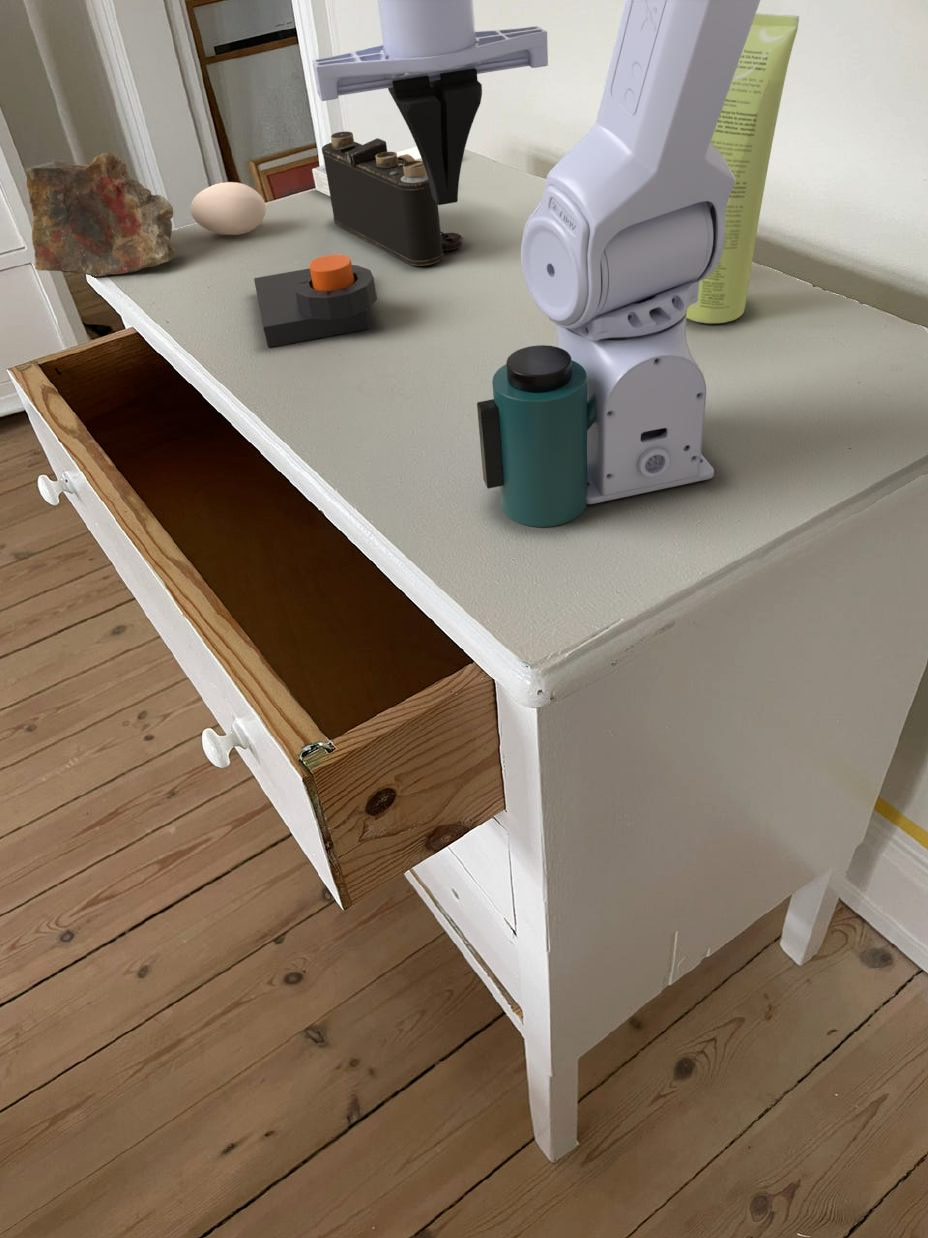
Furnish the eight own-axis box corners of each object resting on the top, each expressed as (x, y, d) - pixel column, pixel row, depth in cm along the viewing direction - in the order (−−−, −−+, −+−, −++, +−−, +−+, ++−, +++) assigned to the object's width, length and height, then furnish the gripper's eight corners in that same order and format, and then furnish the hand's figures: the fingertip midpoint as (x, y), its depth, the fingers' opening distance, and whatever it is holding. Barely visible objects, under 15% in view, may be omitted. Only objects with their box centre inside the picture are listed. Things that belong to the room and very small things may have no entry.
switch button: (357, 288, 74) (353, 266, 73) (316, 296, 74) (311, 273, 72) (351, 273, 76) (347, 251, 75) (311, 280, 76) (306, 258, 75)
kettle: (626, 510, 55) (631, 365, 49) (499, 538, 54) (487, 394, 48) (597, 465, 59) (598, 325, 53) (477, 490, 58) (464, 350, 52)
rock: (109, 179, 96) (38, 117, 86) (215, 193, 92) (153, 131, 82) (73, 298, 95) (-3, 250, 86) (178, 318, 91) (111, 270, 82)
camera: (477, 248, 86) (470, 152, 80) (413, 270, 83) (401, 172, 78) (383, 203, 96) (371, 116, 91) (324, 222, 94) (308, 133, 89)
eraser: (396, 151, 105) (413, 159, 103) (434, 140, 107) (452, 148, 104) (397, 163, 106) (414, 172, 103) (435, 152, 108) (453, 160, 105)
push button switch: (385, 332, 75) (378, 288, 73) (269, 353, 74) (258, 309, 72) (363, 278, 83) (356, 237, 81) (258, 297, 82) (248, 256, 80)
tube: (744, 293, 75) (777, -3, 62) (761, 322, 71) (800, 13, 58) (670, 300, 75) (687, 6, 62) (683, 329, 71) (705, 23, 58)
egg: (274, 193, 94) (202, 197, 96) (256, 170, 90) (181, 175, 91) (273, 241, 94) (201, 244, 96) (254, 220, 90) (180, 225, 91)
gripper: (522, -65, 61) (530, 164, 70) (292, -33, 59) (331, 198, 68) (555, -51, 55) (560, 195, 65) (305, -15, 54) (346, 232, 63)
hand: (444, 199), depth 66 cm, fingers closed
